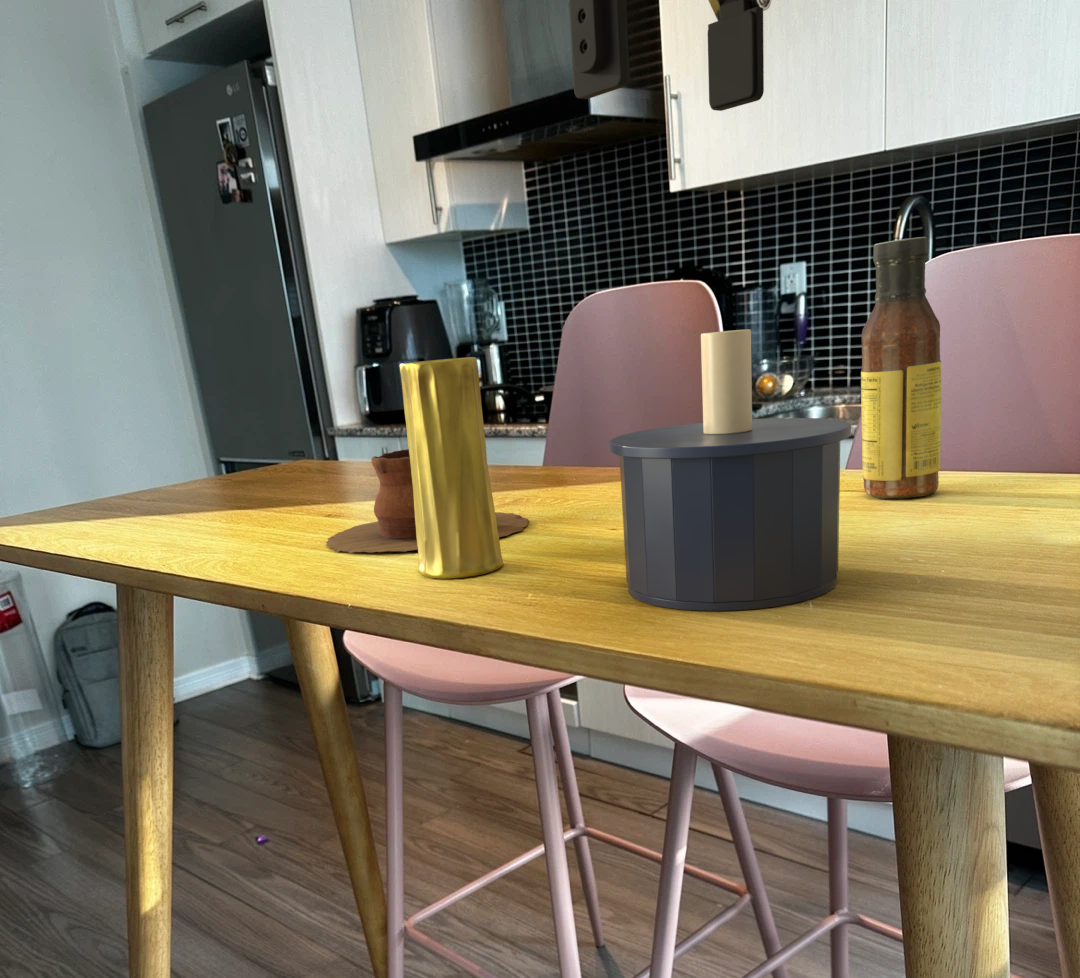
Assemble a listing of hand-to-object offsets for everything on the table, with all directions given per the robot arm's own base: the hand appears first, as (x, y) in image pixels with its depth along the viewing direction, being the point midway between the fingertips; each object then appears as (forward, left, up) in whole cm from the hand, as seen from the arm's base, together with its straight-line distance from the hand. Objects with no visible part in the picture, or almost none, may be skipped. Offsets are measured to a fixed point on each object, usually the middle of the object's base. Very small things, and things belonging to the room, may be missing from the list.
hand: (672, 99), depth 51 cm
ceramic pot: (+15, -33, -26) cm, 44 cm away
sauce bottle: (-25, -27, -26) cm, 45 cm away
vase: (+13, -16, -26) cm, 33 cm away
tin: (-3, -3, -26) cm, 26 cm away
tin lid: (-3, -3, -17) cm, 18 cm away
